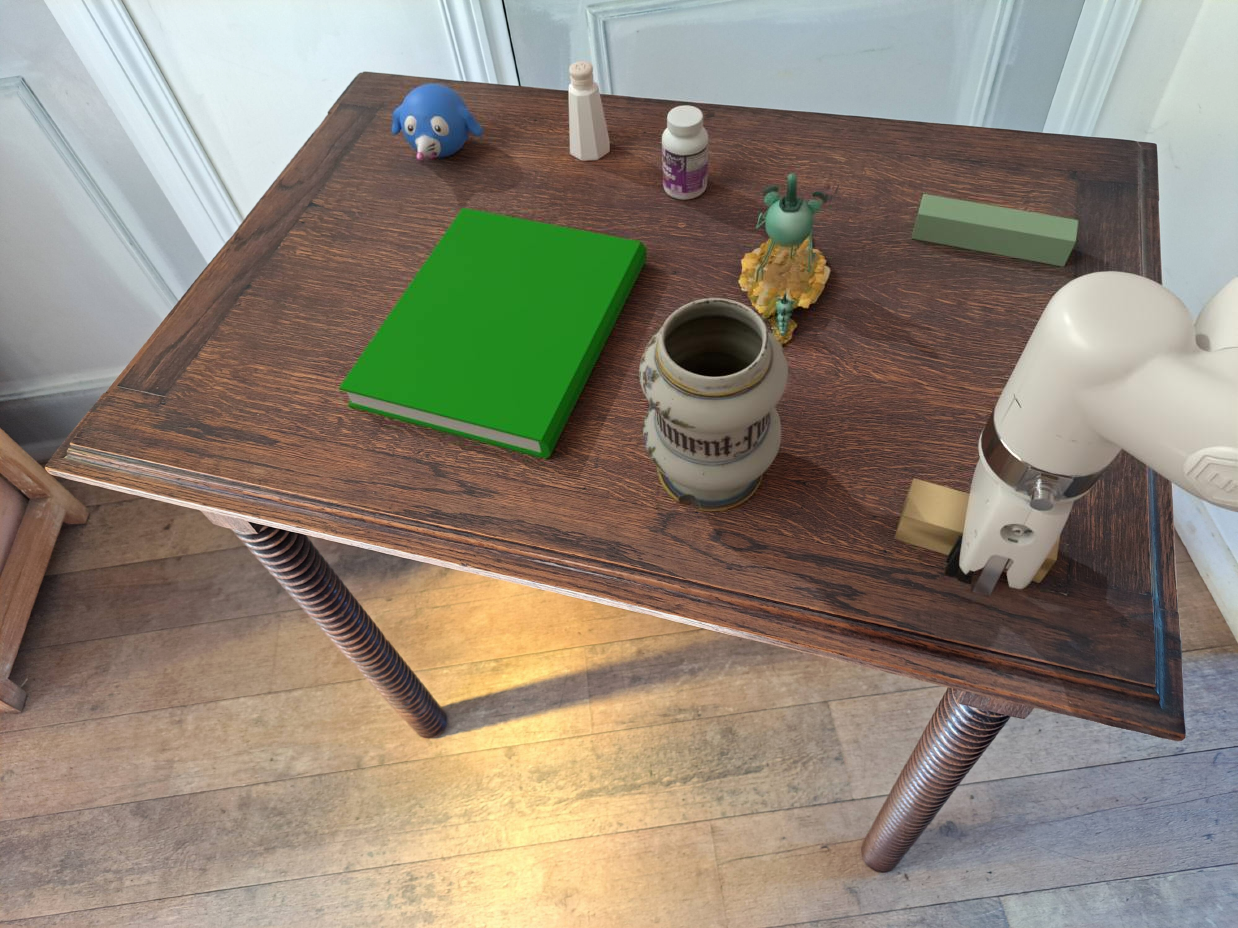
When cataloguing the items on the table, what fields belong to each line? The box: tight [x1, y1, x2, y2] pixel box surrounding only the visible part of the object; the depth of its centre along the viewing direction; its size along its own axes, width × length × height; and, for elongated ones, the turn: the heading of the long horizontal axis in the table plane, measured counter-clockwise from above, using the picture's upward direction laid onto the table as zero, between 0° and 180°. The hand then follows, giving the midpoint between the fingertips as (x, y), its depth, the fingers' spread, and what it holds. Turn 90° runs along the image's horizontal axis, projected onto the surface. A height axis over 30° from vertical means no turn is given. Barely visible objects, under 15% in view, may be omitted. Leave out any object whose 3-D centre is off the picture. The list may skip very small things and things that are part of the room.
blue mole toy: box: [390, 83, 484, 162], centre depth 106 cm, size 12×12×8 cm
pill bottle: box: [661, 104, 709, 201], centre depth 99 cm, size 5×5×10 cm
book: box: [338, 207, 647, 460], centre depth 90 cm, size 22×28×3 cm
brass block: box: [894, 477, 1061, 584], centre depth 72 cm, size 12×4×4 cm, turn 67°
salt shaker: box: [568, 60, 611, 162], centre depth 104 cm, size 5×5×11 cm
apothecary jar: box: [638, 297, 789, 512], centre depth 72 cm, size 12×12×18 cm
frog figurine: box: [738, 173, 831, 346], centre depth 87 cm, size 10×18×15 cm, turn 159°
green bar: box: [910, 193, 1079, 267], centre depth 92 cm, size 16×4×4 cm, turn 69°
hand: (964, 571), depth 70 cm, fingers closed
